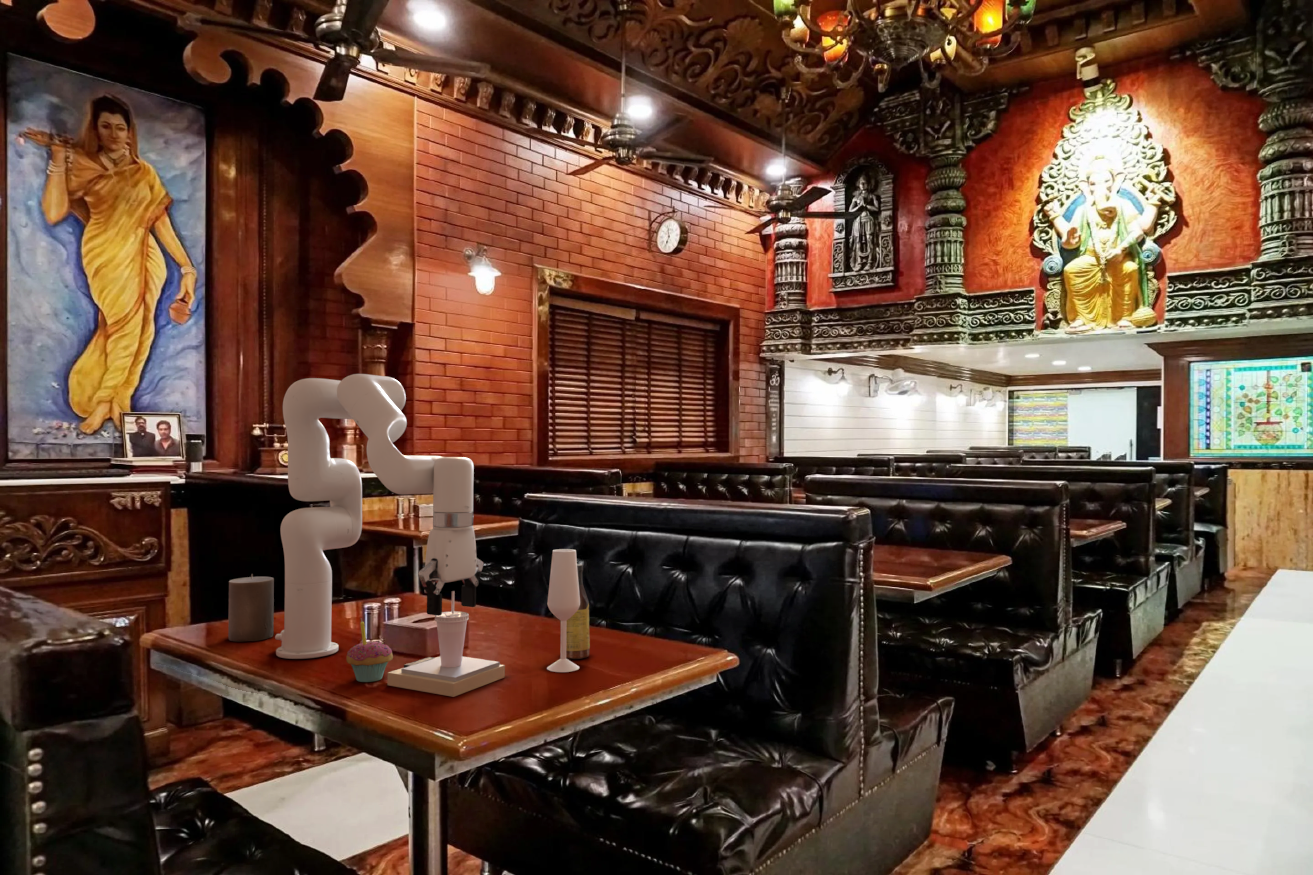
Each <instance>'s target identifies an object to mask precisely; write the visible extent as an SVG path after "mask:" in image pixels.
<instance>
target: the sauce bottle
mask: <svg viewBox="0 0 1313 875" xmlns="http://www.w3.org/2000/svg"><path fill="white" fill-rule="evenodd" d="M577 571H578V583H579V595H580V606H579V608H578V610H577V611H576V613H575V614H574V615H573V616H572V617H571V618H569V619H568V620H567V623H566V659H568V660H581V659H586V658H588V657H589V656H590V648H591V638H590V637H591V636H590V634H591V633H590V600H589V598H588V595H587V593H586V589H585V586H584V583H583V582H584V581H583V572H584V565H583V564H582V563H577ZM559 621H560V622H559V623H560V624H559V625H561V620H559Z"/></svg>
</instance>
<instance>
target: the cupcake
mask: <svg viewBox="0 0 1313 875" xmlns="http://www.w3.org/2000/svg"><path fill="white" fill-rule="evenodd" d="M365 627H366V626H365V622H364V621H363V618H361V617H360V631H361V639H362V642H360V643H358V644H355V645H354V646H352V647H351V648H349V650H348V651H347V653H346V663H347V664H348V665H351V668H352V670H353V673H354V676H355V679H356V681H357V682H360V683H373V682H377V681H380V680H382V679H383V676H384V674H385V670H386V668H387V665H388V663H389V662H391V661H393V660H394V659H393V658H394V656H393V650H392V648H391V647H390V646H389V645H388V644H386V643H384V642H381V641H379V640H378V641H377V640H376V641H374V640H372V641H371V640H370V641H367V636H366V628H365Z"/></svg>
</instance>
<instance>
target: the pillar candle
mask: <svg viewBox="0 0 1313 875" xmlns="http://www.w3.org/2000/svg"><path fill="white" fill-rule="evenodd" d="M274 593H275V578H274V577H271V576H254V574H253V573H251V576H249V577H248V576H247V577H238V578H233V579H229V581H228V619H227V620H228V624H227V625H228V626H227V627H228V631H227V633H228V634H227V635H228V636H227V638H228V640H229V641H231V642H237V643H240V642H257V641H263V640H267V639H270V638H273V636H274V634H275V633H274V632H275V631H274V629H275V628H274V625H275V624H274V622H275V620H274V619H275V618H274V616H275V606H274V602H275V599H274V597H275V596H274Z"/></svg>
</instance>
